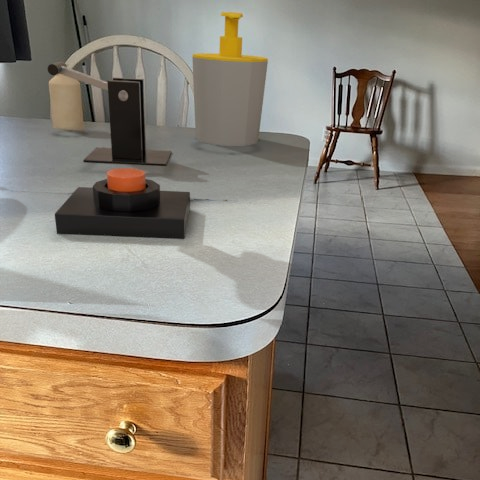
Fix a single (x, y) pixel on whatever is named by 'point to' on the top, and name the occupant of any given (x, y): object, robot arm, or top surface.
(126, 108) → the switch bracket
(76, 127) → the candle
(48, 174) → the top surface
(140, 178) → the button
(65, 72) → the switch lever
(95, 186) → the control block
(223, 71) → the soap bottle
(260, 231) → the top surface
